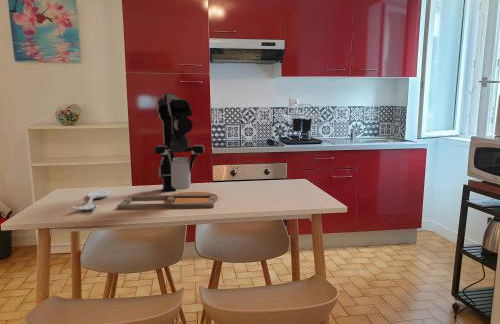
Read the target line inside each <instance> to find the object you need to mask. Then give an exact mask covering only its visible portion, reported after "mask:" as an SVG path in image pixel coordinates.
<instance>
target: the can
mask: <svg viewBox="0 0 500 324" xmlns="http://www.w3.org/2000/svg"><path fill="white" fill-rule="evenodd" d="M191 178H192V177H191V171H190V160H189V158H188V157H183V156H182V157H175V158H173V159H172V162H171V184H172V187H173V188H174V189H176V190H179V191H180V190H187V189H189V188H190V187H191V182H192V181H191Z"/></svg>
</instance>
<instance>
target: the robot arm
mask: <svg viewBox="0 0 500 324" xmlns="http://www.w3.org/2000/svg"><path fill="white" fill-rule="evenodd" d="M156 113H157V114H158V118H159V119H160V121H161V123H162V140H163V141H162V143H163V144H162V145H160V144H159V145H156V146H155V147H154V154H155V155H157V154H158V155H160V157H161V159H160V164H159V167H158V177H159V178H160V179H162V188H161V190H160V191H161V192H176V191H177V189H174V188H173V187H172V184H171V162H172V159H173V158H176V156H175V153H185V152H189V153H190V152H191V153H190V160H189V161H190V172H192V170H193V167H194V163H195V160H196V158H197V156H199V155H200V154H204V153H205V150H206V149H205V145H204V144H194V145H193V146H190V141H189V139H188V133H190V132H191V131H192V129H193V127H194V125H193V122H192V120H191V119H190V118H188V117H192V114H193V111H192V108H191V104H190V102H189V101H188V99H186V98H180V97H177V95H176V93H172V92H171V93H167V92H166V93H163V94H162V97H161V98H160V99H158V101H157V104H156Z"/></svg>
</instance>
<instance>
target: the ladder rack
mask: <svg viewBox="0 0 500 324" xmlns="http://www.w3.org/2000/svg"><path fill="white" fill-rule="evenodd" d="M174 198H210V199H209V202H208V203H173V202H172V201H173V199H174ZM165 199H167V200H165ZM215 200H216V194H209V193H208V194H167V195H166V194H161V195H160V194H159V195H158V194H157V195H156V194H155V195H150V194H148V195H128V196H126V198H124V199H123V201H121V202H120V203H119V204H118V205H117V206H116V207H117V210H118V211H120V210H124V211H125V210H165V209H166V210H167V209H173V210H175V209H177V210H178V209H213V208H214V207H215V203H216V202H215ZM134 201H164V203H132V202H134Z"/></svg>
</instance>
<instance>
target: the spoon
mask: <svg viewBox="0 0 500 324" xmlns="http://www.w3.org/2000/svg"><path fill="white" fill-rule="evenodd" d="M109 195H110V191H109V190H107V189H103V188H101V189H95V190H92V191H90V192H88V193H87V195H86V197H88V201H87V203H85V205H84V204H83V205H81V206H72V207H71V209H72V210H77V211H78V210H79V211H91V210H96V209H97V208H98V207H99V206H98V205H96V204H93V200H94V199H102V198H105V197H107V196H109Z"/></svg>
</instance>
